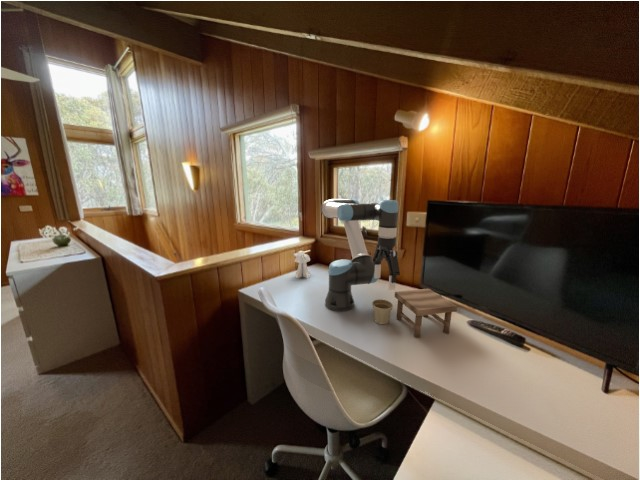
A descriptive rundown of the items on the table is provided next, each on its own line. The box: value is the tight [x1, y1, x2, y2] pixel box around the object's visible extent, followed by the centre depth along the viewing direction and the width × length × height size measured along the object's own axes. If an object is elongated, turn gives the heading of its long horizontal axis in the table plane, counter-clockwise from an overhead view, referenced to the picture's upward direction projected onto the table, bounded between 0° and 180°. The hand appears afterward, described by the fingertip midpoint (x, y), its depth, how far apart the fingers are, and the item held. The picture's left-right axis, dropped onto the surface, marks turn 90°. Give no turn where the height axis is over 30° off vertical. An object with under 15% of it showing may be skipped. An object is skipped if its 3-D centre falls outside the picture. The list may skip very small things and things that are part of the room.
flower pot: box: [371, 298, 394, 325], centre depth 112 cm, size 9×9×9 cm
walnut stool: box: [394, 288, 458, 339], centre depth 108 cm, size 18×18×13 cm
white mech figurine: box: [292, 249, 311, 279], centre depth 169 cm, size 12×13×18 cm
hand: (384, 283), depth 109 cm, fingers open, 13 cm apart
